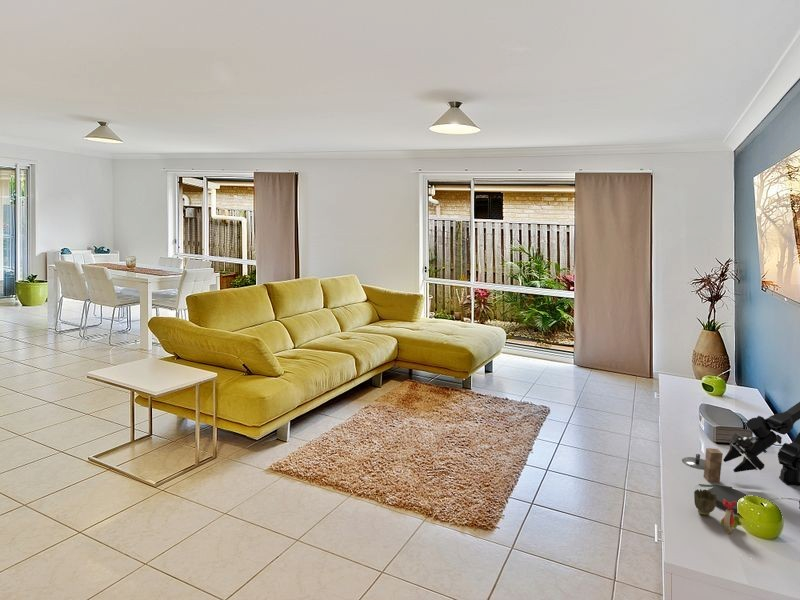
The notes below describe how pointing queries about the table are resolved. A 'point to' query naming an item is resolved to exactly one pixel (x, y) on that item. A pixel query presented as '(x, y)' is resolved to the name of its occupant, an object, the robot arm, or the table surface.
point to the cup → (704, 501)
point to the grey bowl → (694, 462)
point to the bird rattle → (730, 517)
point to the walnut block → (713, 465)
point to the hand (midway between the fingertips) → (728, 466)
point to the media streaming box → (726, 496)
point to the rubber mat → (712, 486)
